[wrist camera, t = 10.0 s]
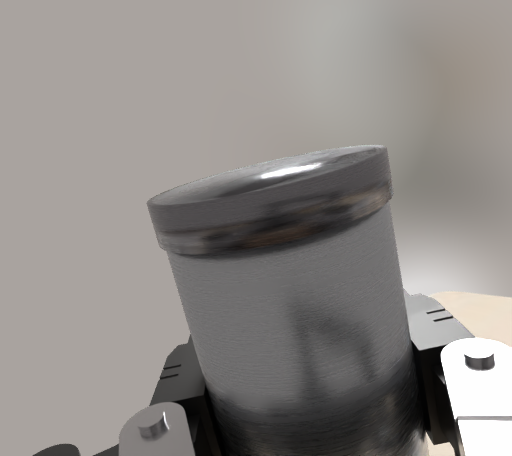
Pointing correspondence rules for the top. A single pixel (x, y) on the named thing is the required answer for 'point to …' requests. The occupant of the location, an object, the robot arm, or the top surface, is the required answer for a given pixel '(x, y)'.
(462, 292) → the top surface
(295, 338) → the steel canister
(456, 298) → the top surface
